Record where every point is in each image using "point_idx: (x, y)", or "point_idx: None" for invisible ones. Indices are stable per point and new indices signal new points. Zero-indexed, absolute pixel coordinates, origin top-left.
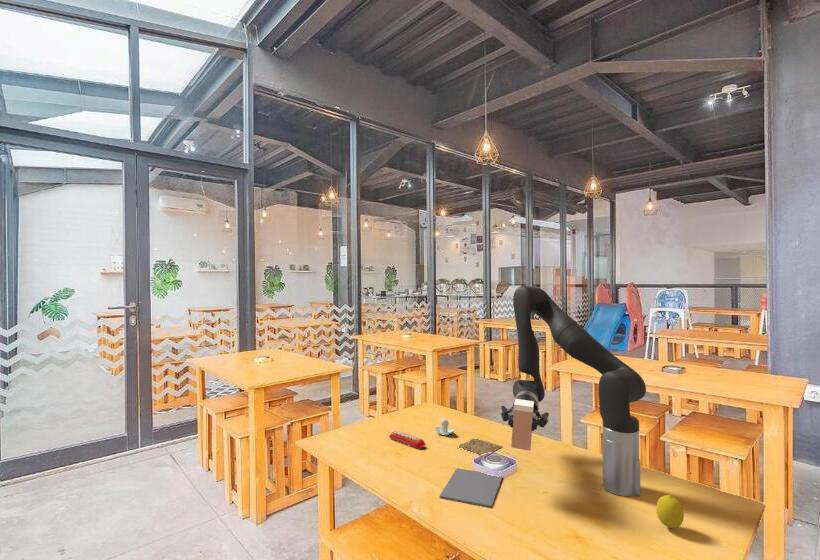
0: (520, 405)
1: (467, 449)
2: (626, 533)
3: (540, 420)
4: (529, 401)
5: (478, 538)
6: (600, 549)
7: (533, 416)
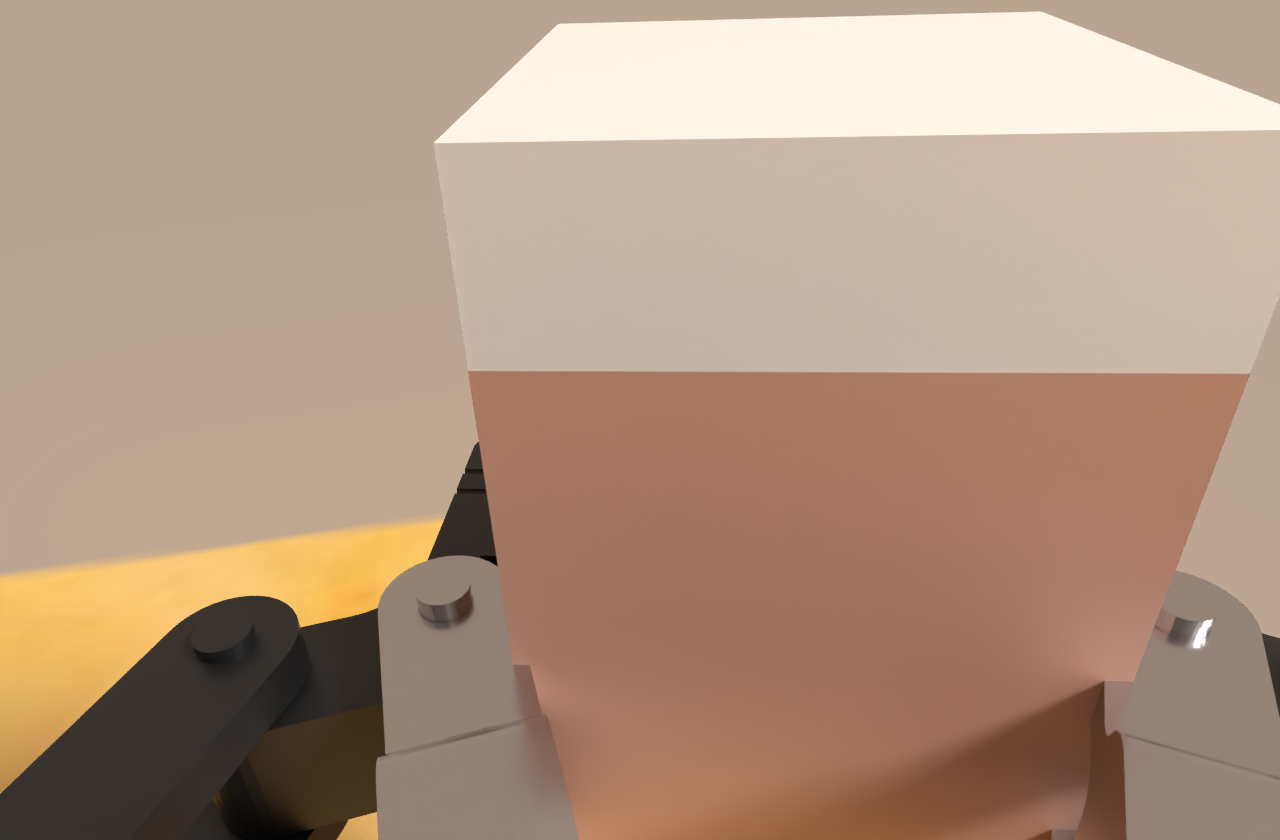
0: (870, 24)
1: None
2: (22, 702)
3: (322, 625)
4: (638, 110)
5: None
6: (288, 558)
7: (493, 663)
